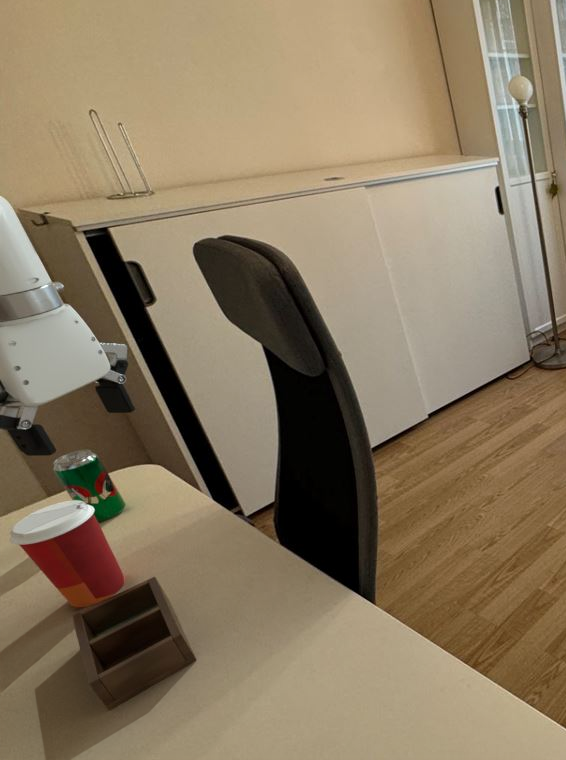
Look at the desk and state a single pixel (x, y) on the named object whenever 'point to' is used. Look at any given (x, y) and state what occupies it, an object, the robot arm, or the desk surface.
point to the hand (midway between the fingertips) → (84, 431)
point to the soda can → (89, 483)
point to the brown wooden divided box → (131, 642)
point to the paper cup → (71, 551)
